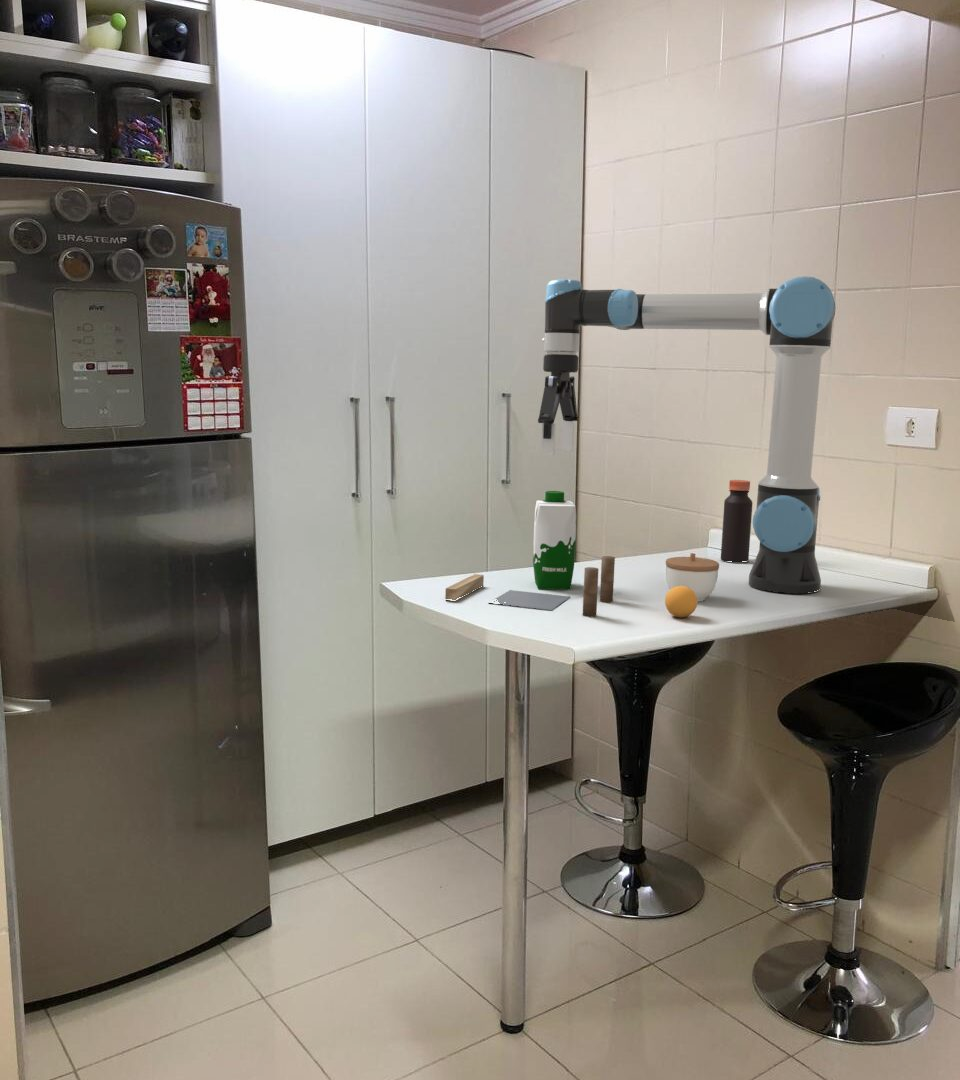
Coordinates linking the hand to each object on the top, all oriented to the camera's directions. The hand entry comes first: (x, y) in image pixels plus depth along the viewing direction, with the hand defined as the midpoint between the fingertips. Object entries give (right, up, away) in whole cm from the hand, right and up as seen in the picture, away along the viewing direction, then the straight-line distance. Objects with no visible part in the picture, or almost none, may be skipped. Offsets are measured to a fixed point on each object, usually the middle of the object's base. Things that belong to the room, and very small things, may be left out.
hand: (557, 452), depth 223 cm
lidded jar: (+26, -31, -13) cm, 43 cm away
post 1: (+4, -33, -30) cm, 45 cm away
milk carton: (-2, -29, -5) cm, 30 cm away
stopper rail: (-20, -30, -15) cm, 39 cm away
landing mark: (-7, -31, -19) cm, 37 cm away
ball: (+21, -31, -30) cm, 48 cm away
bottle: (+46, -25, +30) cm, 60 cm away
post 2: (+8, -32, -18) cm, 37 cm away
